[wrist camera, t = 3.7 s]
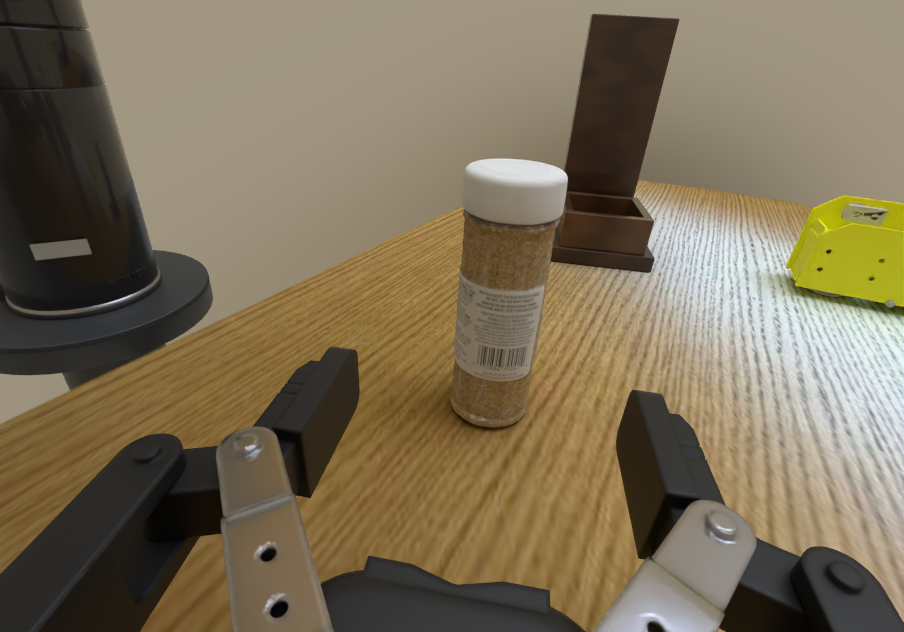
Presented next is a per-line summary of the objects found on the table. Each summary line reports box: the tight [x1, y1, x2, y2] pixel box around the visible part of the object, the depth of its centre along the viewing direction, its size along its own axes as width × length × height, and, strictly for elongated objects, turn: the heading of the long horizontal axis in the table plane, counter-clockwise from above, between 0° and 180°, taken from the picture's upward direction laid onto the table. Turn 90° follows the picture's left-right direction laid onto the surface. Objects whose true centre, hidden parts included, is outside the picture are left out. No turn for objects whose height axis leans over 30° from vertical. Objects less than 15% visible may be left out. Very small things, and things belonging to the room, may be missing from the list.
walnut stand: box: [551, 14, 679, 272], centre depth 45 cm, size 10×12×22 cm
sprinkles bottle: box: [450, 159, 568, 428], centre depth 23 cm, size 5×5×13 cm
